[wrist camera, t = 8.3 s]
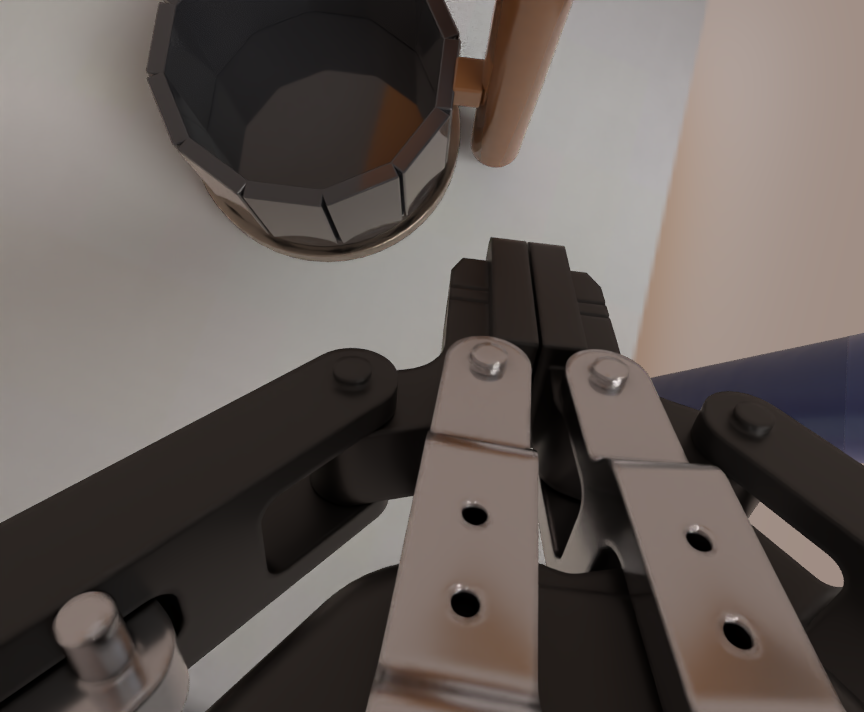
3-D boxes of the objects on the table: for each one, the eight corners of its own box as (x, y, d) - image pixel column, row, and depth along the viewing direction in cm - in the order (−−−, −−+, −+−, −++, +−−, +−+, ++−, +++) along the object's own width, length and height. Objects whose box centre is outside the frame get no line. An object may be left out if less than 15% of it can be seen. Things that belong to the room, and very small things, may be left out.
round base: (473, 31, 25) (474, 19, 25) (443, 277, 24) (444, 272, 23) (220, 0, 25) (214, -14, 25) (178, 245, 24) (169, 239, 23)
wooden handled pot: (181, 230, 23) (-76, 19, 11) (222, -4, 25) (29, -423, 12) (506, 269, 23) (598, 102, 11) (531, 35, 25) (639, -345, 12)
